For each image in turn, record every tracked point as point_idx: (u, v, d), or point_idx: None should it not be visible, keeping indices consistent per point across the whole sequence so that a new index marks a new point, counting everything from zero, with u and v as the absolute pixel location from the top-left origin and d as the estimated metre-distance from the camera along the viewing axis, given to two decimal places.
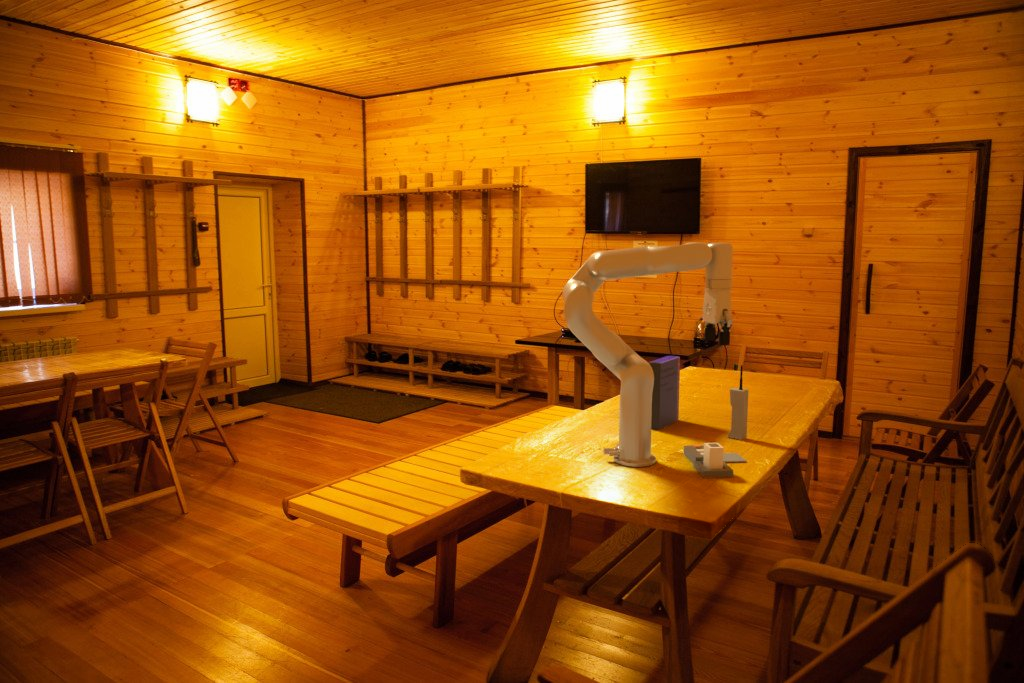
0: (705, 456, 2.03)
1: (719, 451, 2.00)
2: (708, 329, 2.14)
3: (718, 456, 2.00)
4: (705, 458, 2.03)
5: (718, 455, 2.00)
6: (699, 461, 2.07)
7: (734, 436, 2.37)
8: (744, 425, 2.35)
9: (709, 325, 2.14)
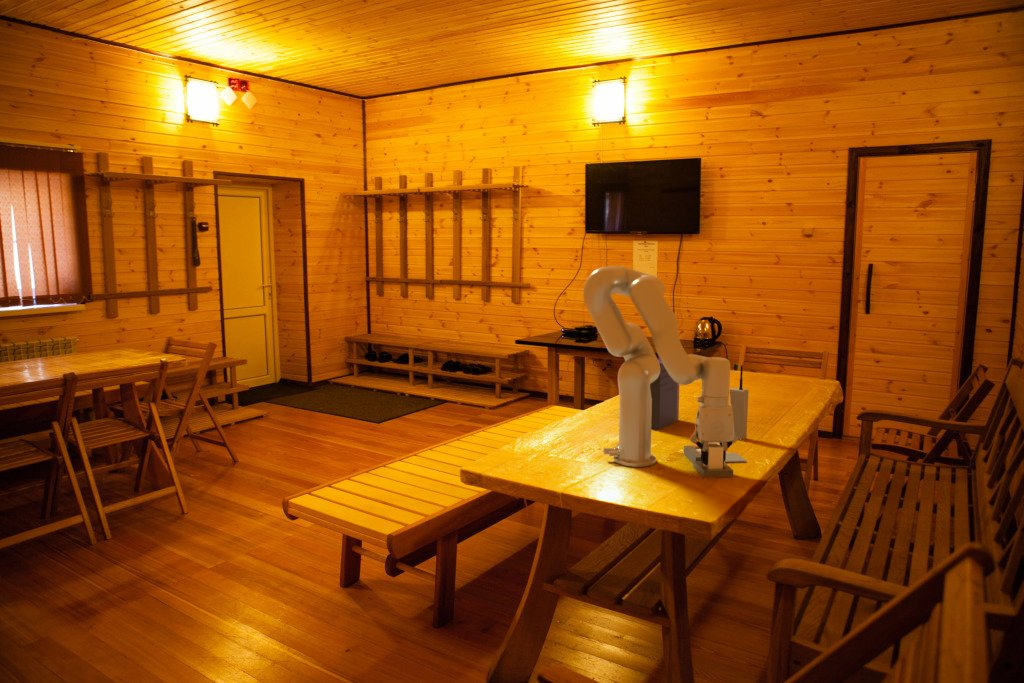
0: None
1: (719, 451, 2.00)
2: None
3: (718, 456, 2.00)
4: None
5: (718, 455, 2.00)
6: (699, 461, 2.07)
7: None
8: (744, 425, 2.35)
9: None
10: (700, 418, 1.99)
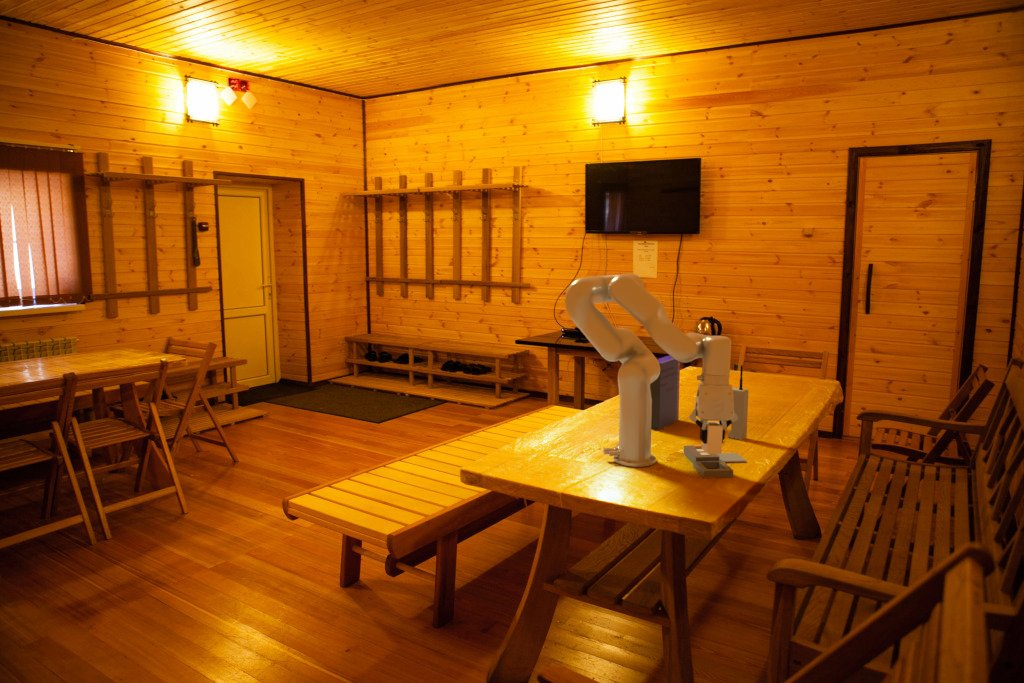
0: None
1: (718, 429, 1.99)
2: None
3: (717, 434, 1.99)
4: None
5: (717, 434, 1.99)
6: (699, 461, 2.07)
7: (734, 436, 2.37)
8: (744, 425, 2.35)
9: None
10: (700, 396, 1.98)
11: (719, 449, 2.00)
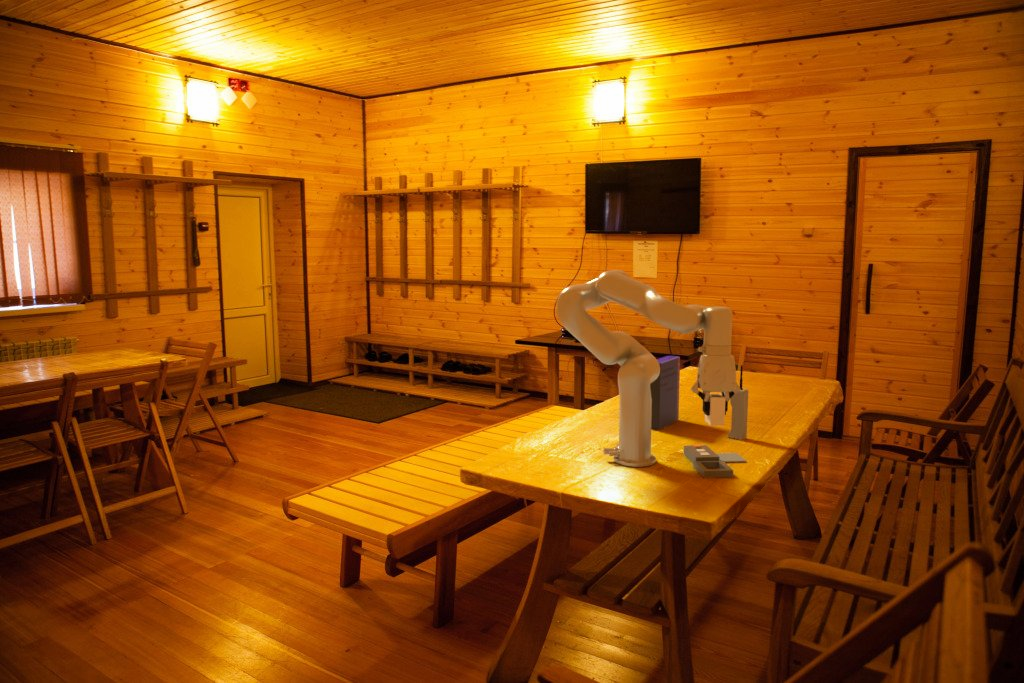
0: None
1: (721, 400, 1.98)
2: None
3: (720, 406, 1.98)
4: None
5: (720, 405, 1.98)
6: (699, 461, 2.07)
7: (734, 436, 2.37)
8: (744, 425, 2.35)
9: None
10: (702, 367, 1.97)
11: (722, 421, 1.99)
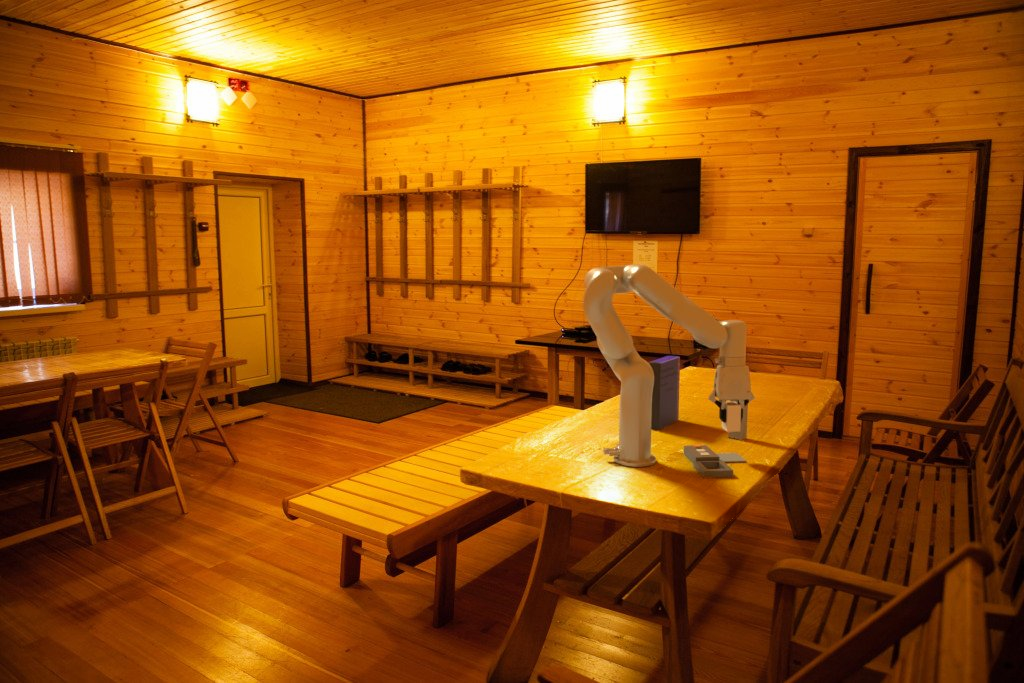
0: None
1: (737, 408, 2.11)
2: None
3: (736, 413, 2.11)
4: None
5: (736, 413, 2.11)
6: (699, 461, 2.07)
7: (734, 436, 2.37)
8: (744, 425, 2.35)
9: None
10: (718, 377, 2.10)
11: (738, 427, 2.12)
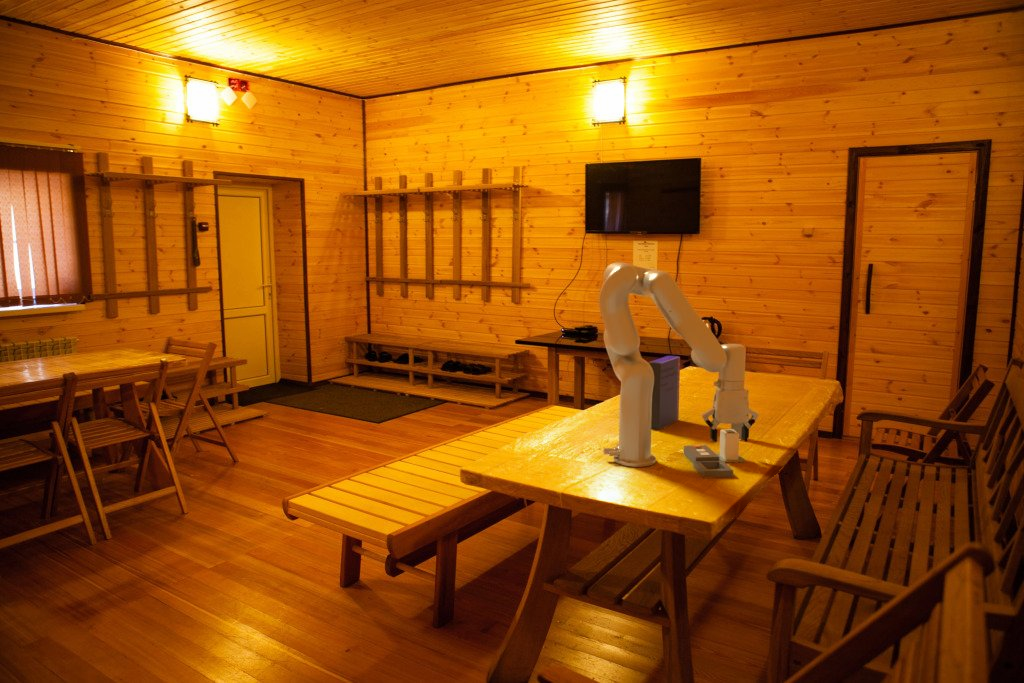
0: (721, 442, 2.16)
1: (735, 436, 2.12)
2: None
3: (734, 441, 2.12)
4: (721, 444, 2.16)
5: (734, 441, 2.12)
6: (699, 461, 2.07)
7: None
8: None
9: None
10: (717, 401, 2.11)
11: (736, 455, 2.13)
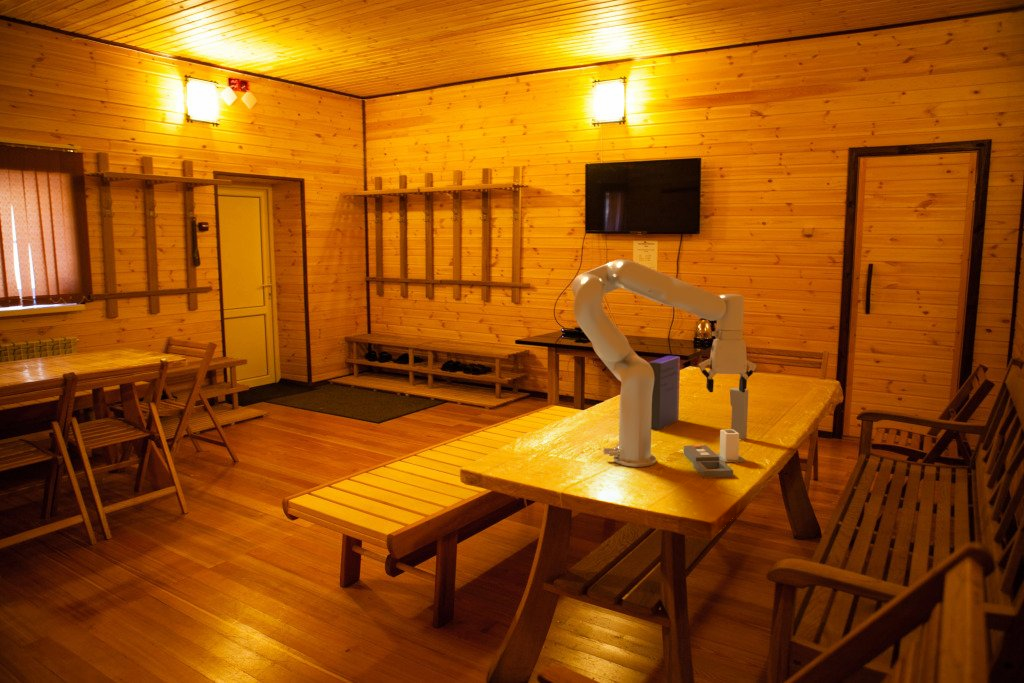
0: (721, 442, 2.16)
1: (735, 436, 2.12)
2: None
3: (734, 441, 2.12)
4: (721, 444, 2.16)
5: (734, 441, 2.12)
6: (699, 461, 2.07)
7: None
8: (744, 425, 2.35)
9: None
10: (714, 351, 2.10)
11: (736, 455, 2.13)
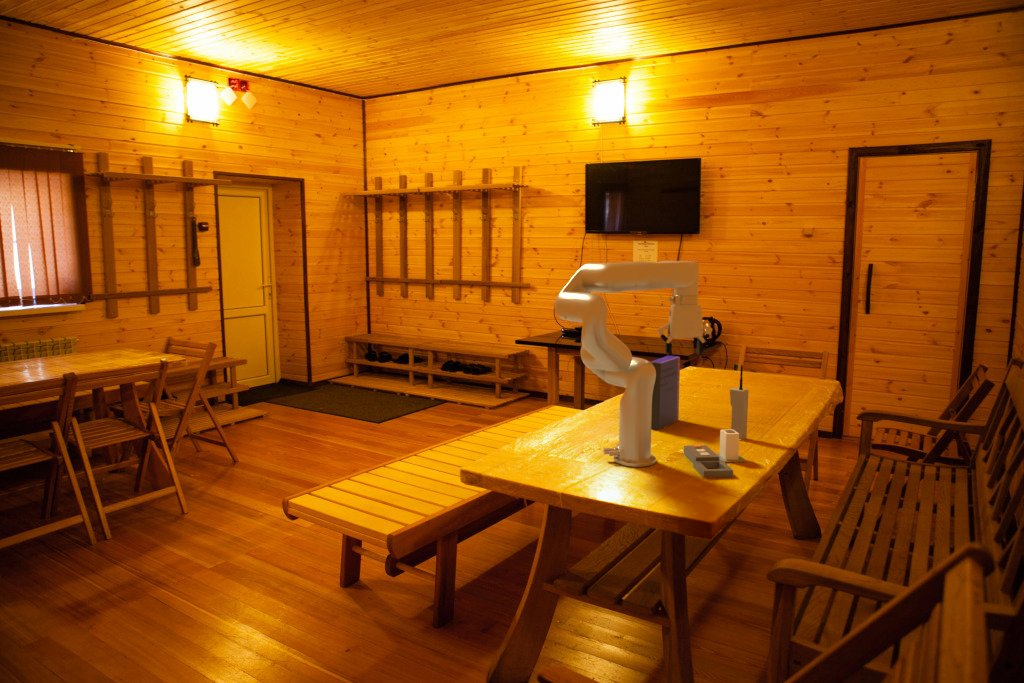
0: (721, 442, 2.16)
1: (735, 436, 2.12)
2: None
3: (734, 441, 2.12)
4: (721, 444, 2.16)
5: (734, 441, 2.12)
6: (699, 461, 2.07)
7: None
8: (744, 425, 2.35)
9: None
10: (672, 315, 2.19)
11: (736, 455, 2.13)
